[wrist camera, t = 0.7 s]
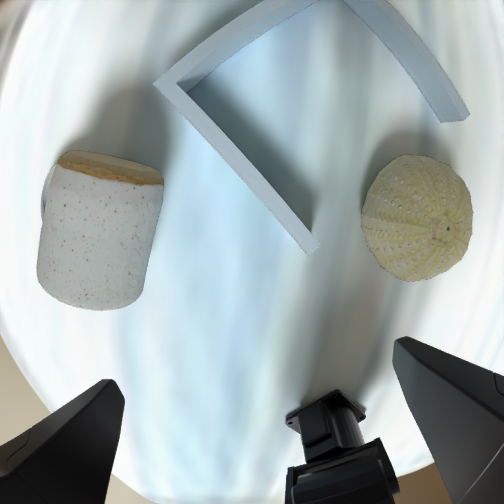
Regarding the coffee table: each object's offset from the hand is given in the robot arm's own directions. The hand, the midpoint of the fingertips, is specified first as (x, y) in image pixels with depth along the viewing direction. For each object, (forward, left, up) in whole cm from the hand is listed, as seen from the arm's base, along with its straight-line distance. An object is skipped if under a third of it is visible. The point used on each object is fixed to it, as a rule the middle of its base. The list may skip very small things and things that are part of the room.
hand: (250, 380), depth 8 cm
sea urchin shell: (-6, -11, -14) cm, 18 cm away
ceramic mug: (+9, +6, -14) cm, 17 cm away
